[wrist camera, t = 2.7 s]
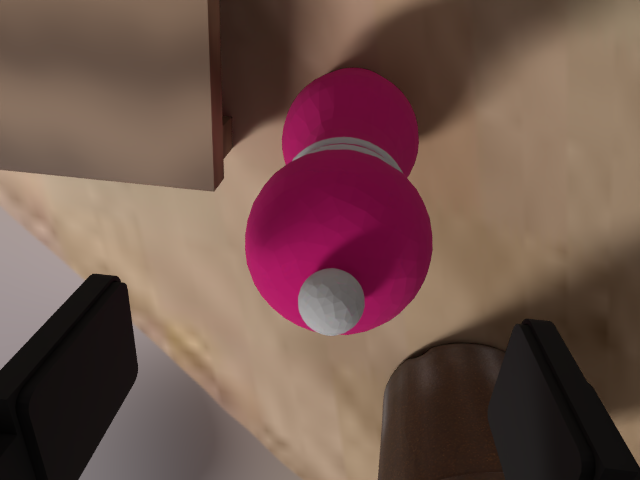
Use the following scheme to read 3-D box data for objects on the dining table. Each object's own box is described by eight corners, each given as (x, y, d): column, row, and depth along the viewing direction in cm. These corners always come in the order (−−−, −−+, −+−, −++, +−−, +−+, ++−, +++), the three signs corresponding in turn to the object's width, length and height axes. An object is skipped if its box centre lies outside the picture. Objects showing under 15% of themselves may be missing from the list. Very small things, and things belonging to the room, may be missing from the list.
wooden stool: (-26, -127, 25) (-130, -155, 20) (238, -107, 25) (202, -131, 19) (31, 135, 32) (-36, 166, 27) (240, 156, 31) (214, 191, 26)
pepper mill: (276, 146, 31) (154, 364, 13) (323, 35, 27) (244, 130, 10) (377, 193, 32) (388, 456, 14) (434, 91, 28) (542, 270, 11)
